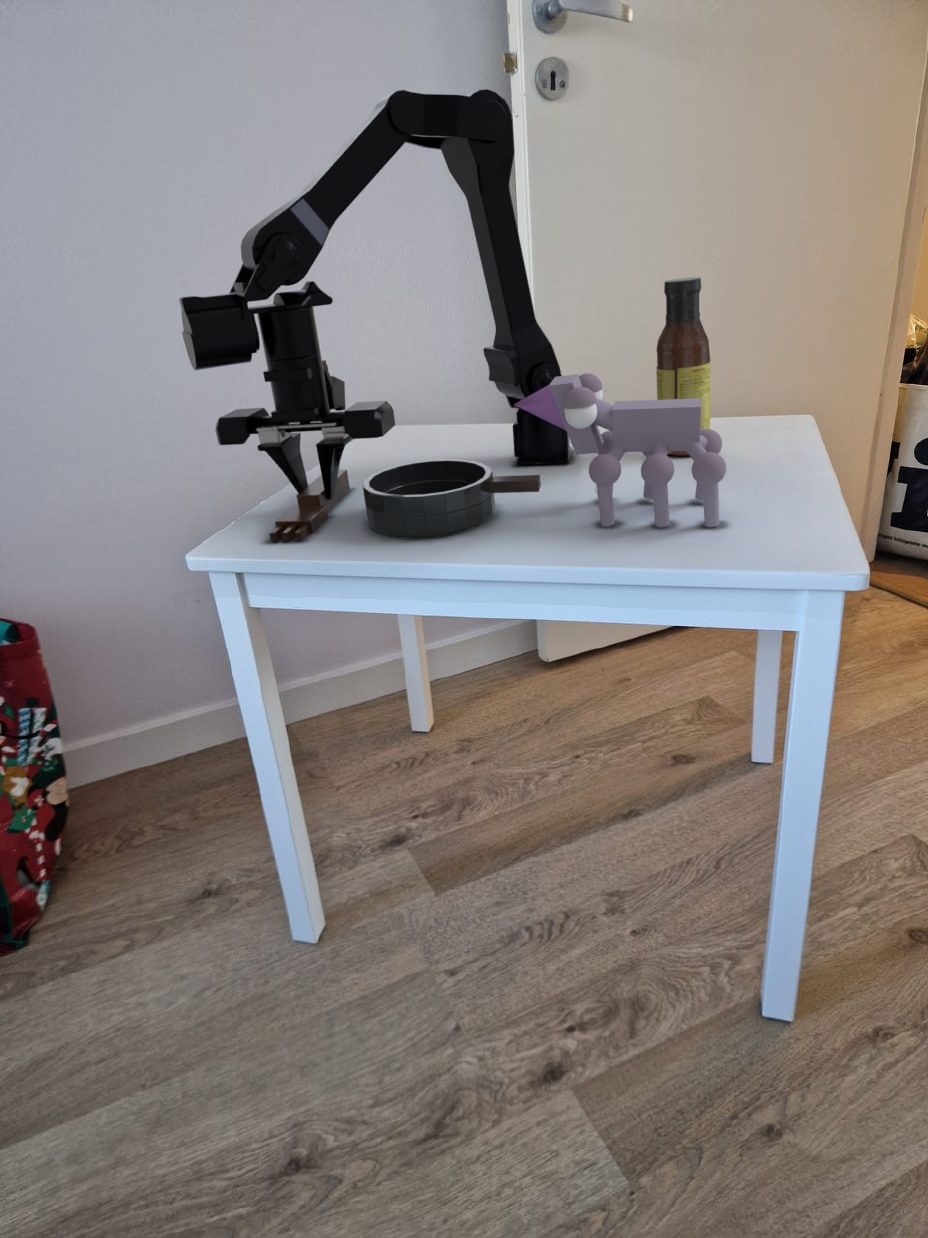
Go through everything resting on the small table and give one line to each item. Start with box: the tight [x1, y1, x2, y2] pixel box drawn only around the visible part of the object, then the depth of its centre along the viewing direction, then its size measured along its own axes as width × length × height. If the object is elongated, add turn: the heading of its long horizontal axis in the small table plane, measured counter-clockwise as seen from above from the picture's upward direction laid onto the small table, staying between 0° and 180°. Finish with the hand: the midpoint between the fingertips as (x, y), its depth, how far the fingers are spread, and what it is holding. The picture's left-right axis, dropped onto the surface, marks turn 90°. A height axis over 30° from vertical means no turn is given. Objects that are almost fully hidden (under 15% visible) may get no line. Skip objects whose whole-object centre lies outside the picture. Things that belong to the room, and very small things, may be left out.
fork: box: [269, 469, 351, 543], centre depth 87 cm, size 17×4×3 cm, turn 170°
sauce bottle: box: [655, 276, 711, 457], centre depth 93 cm, size 6×6×20 cm
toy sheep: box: [514, 372, 727, 528], centre depth 76 cm, size 20×11×14 cm, turn 74°
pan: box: [362, 458, 496, 539], centre depth 82 cm, size 13×13×4 cm
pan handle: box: [490, 474, 542, 494], centre depth 80 cm, size 5×2×1 cm, turn 80°
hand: (318, 499), depth 89 cm, fingers closed on fork, 3 cm apart
